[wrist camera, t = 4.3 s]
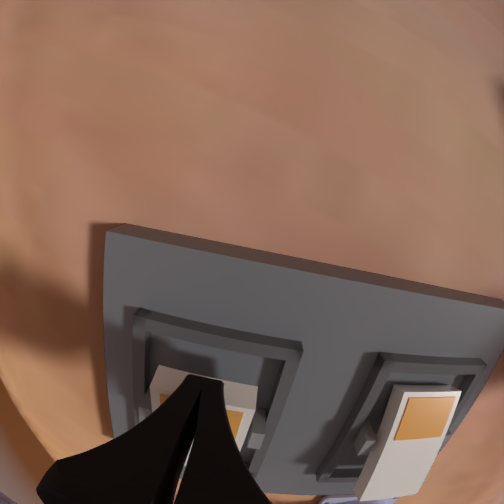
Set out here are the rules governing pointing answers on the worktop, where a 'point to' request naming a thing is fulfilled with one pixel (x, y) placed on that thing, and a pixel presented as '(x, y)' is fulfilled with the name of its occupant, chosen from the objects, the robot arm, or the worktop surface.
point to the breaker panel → (287, 346)
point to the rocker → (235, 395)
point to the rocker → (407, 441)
